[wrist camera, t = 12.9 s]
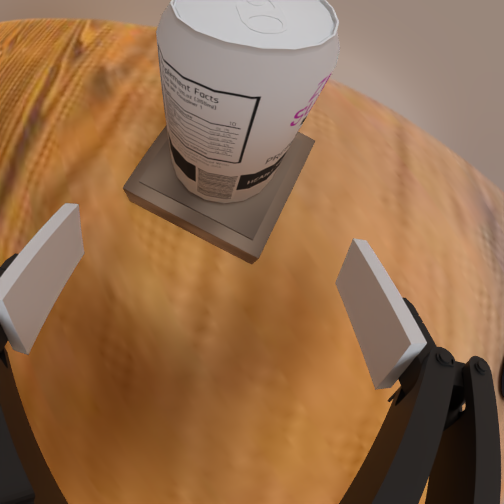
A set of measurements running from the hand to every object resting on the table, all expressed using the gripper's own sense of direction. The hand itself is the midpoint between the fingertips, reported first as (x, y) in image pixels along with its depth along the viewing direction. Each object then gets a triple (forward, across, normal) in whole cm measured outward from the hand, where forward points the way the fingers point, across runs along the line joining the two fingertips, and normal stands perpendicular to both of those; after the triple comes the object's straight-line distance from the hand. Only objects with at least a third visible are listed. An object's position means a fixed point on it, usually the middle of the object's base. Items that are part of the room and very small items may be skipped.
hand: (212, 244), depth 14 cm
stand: (+15, 0, -2) cm, 15 cm away
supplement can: (+12, 0, 0) cm, 12 cm away
